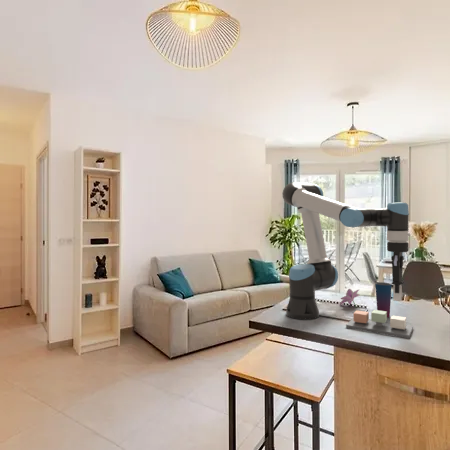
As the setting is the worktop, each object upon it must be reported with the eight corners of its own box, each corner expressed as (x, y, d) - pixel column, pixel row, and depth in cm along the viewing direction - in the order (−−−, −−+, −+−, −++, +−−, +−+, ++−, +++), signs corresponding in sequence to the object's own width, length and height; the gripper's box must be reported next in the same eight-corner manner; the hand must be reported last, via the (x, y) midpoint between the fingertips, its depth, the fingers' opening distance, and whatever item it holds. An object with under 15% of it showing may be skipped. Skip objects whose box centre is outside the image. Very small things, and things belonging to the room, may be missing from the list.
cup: (393, 318, 147) (393, 285, 147) (377, 317, 149) (377, 285, 148) (389, 314, 154) (389, 282, 154) (373, 313, 155) (373, 282, 155)
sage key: (371, 321, 134) (371, 312, 134) (373, 318, 138) (373, 309, 138) (384, 323, 131) (384, 314, 131) (386, 319, 135) (386, 311, 135)
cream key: (390, 327, 130) (390, 318, 130) (392, 323, 134) (392, 315, 134) (404, 329, 127) (404, 320, 127) (406, 325, 131) (406, 317, 131)
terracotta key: (353, 321, 138) (353, 313, 138) (356, 318, 142) (356, 310, 142) (366, 323, 135) (366, 315, 135) (368, 320, 139) (368, 312, 139)
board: (346, 327, 136) (346, 319, 136) (354, 319, 147) (353, 312, 147) (409, 338, 123) (409, 329, 123) (413, 328, 133) (412, 320, 133)
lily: (364, 306, 172) (355, 289, 175) (369, 303, 161) (360, 284, 165) (342, 314, 172) (334, 296, 176) (346, 311, 161) (337, 292, 165)
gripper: (406, 243, 123) (406, 305, 123) (410, 240, 133) (410, 298, 134) (384, 242, 127) (384, 302, 128) (389, 240, 138) (389, 296, 138)
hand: (397, 300), depth 131 cm, fingers closed
